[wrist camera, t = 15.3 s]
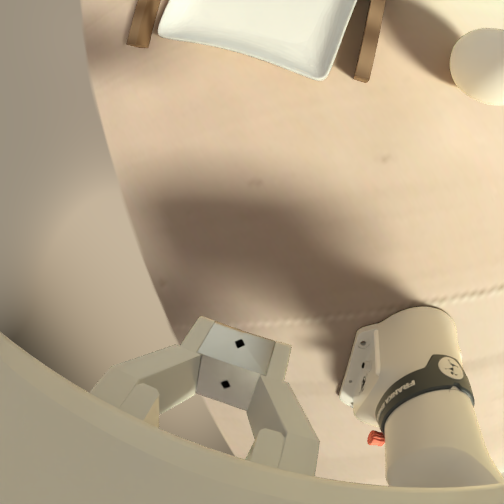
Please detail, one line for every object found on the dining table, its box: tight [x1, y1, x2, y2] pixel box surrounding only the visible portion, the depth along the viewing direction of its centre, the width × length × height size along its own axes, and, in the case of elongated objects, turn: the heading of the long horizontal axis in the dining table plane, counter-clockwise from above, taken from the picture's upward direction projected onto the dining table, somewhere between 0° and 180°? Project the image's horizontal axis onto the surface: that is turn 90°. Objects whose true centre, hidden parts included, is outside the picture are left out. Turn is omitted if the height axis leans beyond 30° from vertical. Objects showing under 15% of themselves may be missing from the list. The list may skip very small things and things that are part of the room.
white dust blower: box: [450, 28, 504, 105], centre depth 18 cm, size 8×8×18 cm
